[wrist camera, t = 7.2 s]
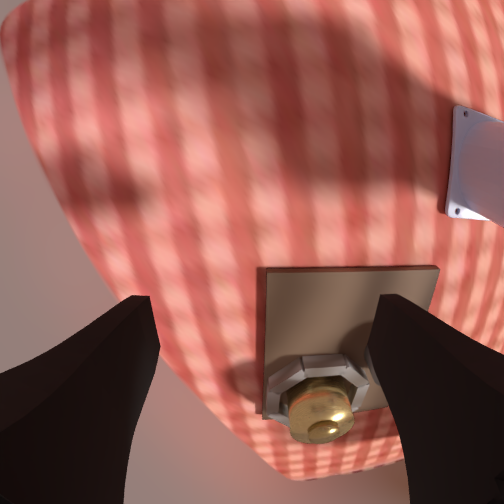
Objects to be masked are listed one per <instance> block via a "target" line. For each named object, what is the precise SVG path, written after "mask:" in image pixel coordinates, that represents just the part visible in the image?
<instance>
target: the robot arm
mask: <svg viewBox="0 0 504 504" xmlns="http://www.w3.org/2000/svg"><path fill="white" fill-rule="evenodd" d="M464 112H465V116H464ZM456 208H457V212H456V213H455V210H456ZM445 213H446V215H447V216H449V217H451V218H463V219H475V220H486V221H492V222H494V223H496V224H498V225H500V226H501V227H503V228H504V122H503V121H501V120H498V119H496V118H493V117H491V116H488V115H486V114H483V113H480V112H478V111H475V110H472V109H470V108H467V107H464V106H460V105H456V106H455V107H454V109H453V138H452V154H451V166H450V176H449V185H448V192H447V199H446V206H445ZM367 345H368V349H369V353H370V357H371V361H372V364H373V368H374V371H375V373H376V376H377V378H378V381H379V383H380V385H381V388H382V390H383V393H384V395H385V398H386V400H387V402H388V405H389V407H390V410H391V412H392V415H393V417H394V420H395V423H396V426H397V429H398V432H399V435H400V440H401V444H402V448H403V453H404V458H405V464H406V470H407V476H408V485H409V494H410V504H504V355H503V354H501V353H499V352H497V351H495V350H493V349H491V348H488V347H486V346H484V345H482V344H480V343H479V342H477V341H475V340H473V339H471V338H470V337H468V336H466V335H464V334H463V333H461V332H459V331H458V330H456V329H454V328H453V327H451V326H449V325H448V324H446V323H445V322H443V321H441V320H440V319H438V318H437V317H435V316H434V315H432V314H430V313H429V312H427V311H426V310H424V309H423V308H421V307H419V306H418V305H416V304H415V303H413V302H411V301H410V300H408V299H406V298H404V297H402V296H400V295H398V294H380V297H379V301H378V305H377V309H376V313H375V317H374V321H373V325H372V328H371V332H370V336H369V339H368V343H367ZM159 351H160V342H159V338H158V334H157V329H156V325H155V320H154V316H153V311H152V306H151V301H150V296H137V295H132V296H130V297H128V298H126V299H125V300H123V301H122V302H120V303H119V304H117V305H116V306H114V307H113V308H111V309H110V310H109V311H107V312H106V313H105V314H103V315H102V316H100V317H99V318H97V319H96V320H94V321H93V322H92V323H90V324H89V325H87V326H86V327H85V328H83V329H82V330H80V331H78V332H77V333H76V334H74V335H73V336H71V337H69V338H68V339H66V340H65V341H63V342H62V343H60V344H59V345H57V346H55V347H54V348H52V349H50V350H49V351H47V352H45V353H43V354H41V355H39V356H37V357H35V358H34V359H32V360H30V361H28V362H25V363H23V364H21V365H19V366H17V367H14V368H12V369H9V370H7V371H5V372H3V373H0V504H123V502H124V488H125V479H126V472H127V466H128V460H129V454H130V449H131V443H132V439H133V435H134V431H135V428H136V425H137V422H138V419H139V416H140V413H141V410H142V407H143V404H144V402H145V399H146V396H147V393H148V390H149V387H150V385H151V382H152V379H153V376H154V374H155V370H156V365H157V361H158V356H159Z"/></svg>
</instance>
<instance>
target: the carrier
mask: <svg viewBox="0 0 504 504" xmlns="http://www.w3.org/2000/svg"><path fill="white" fill-rule="evenodd" d="M439 272H440V269H439V268H438V267H437V266H413V267H368V268H290V269H267V280H266V320H265V353H264V382H263V408H262V420H268V419H274V420H276V421H278V422H280V423H282V424H284V425H286V426H288V427H290V424H289V415H288V405H287V396H286V390H288V389H289V388H291V387H293V386H294V385H296V384H297V383H299V382H301V381H302V380H304V379H305V378H307V377H322V376H334V375H341V377H342V379H343V382H344V385H345V389H346V392H347V395H348V399H349V402H350V406H351V409H352V412H353V413H354V412H361V411H367V410H373V409H379V408H385V407H388V402H387V400H386V398H385V395H384V393H383V390H382V388H381V385H380V383H379V381H378V378H377V376H376V373H375V371H374V368H373V364H372V361H371V357H370V353H369V349H368V345H367V343H368V339H369V336H370V332H371V328H372V325H373V321H374V317H375V313H376V309H377V305H378V301H379V297H380V294H398V295H400V296H402V297H404V298H406V299H408V300H410V301H411V302H413V303H415V304H416V305H418V306H419V307H421V308H423V309H424V310H426V311H427V312H428V309H429V306H430V303H431V300H432V296H433V293H434V290H435V286H436V283H437V279H438V276H439Z"/></svg>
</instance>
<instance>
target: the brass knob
mask: <svg viewBox="0 0 504 504" xmlns="http://www.w3.org/2000/svg"><path fill="white" fill-rule="evenodd" d="M286 396H287V405H288V415H289V424H290V433H291V436H292V437H293V438H294V439H295V440H297V441H299V442H303V443H314V444H323V443H328V442H330V441H333V440H335V439H336V438H338V437H340V436H342V435H344V434H345V433H346V432H348V431H349V430H350V429H351V428H352V426H353V424H354V416H353V412H352V409H351V406H350V402H349V399H348V395H347V392H346V389H345V385H344V382H343V379H342V377H341V375H334V376H322V377H307V378H305V379H304V380H302V381H301V382H299V383H297V384H296V385H294V386H293V387H291V388H289V389H288V390H286Z"/></svg>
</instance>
